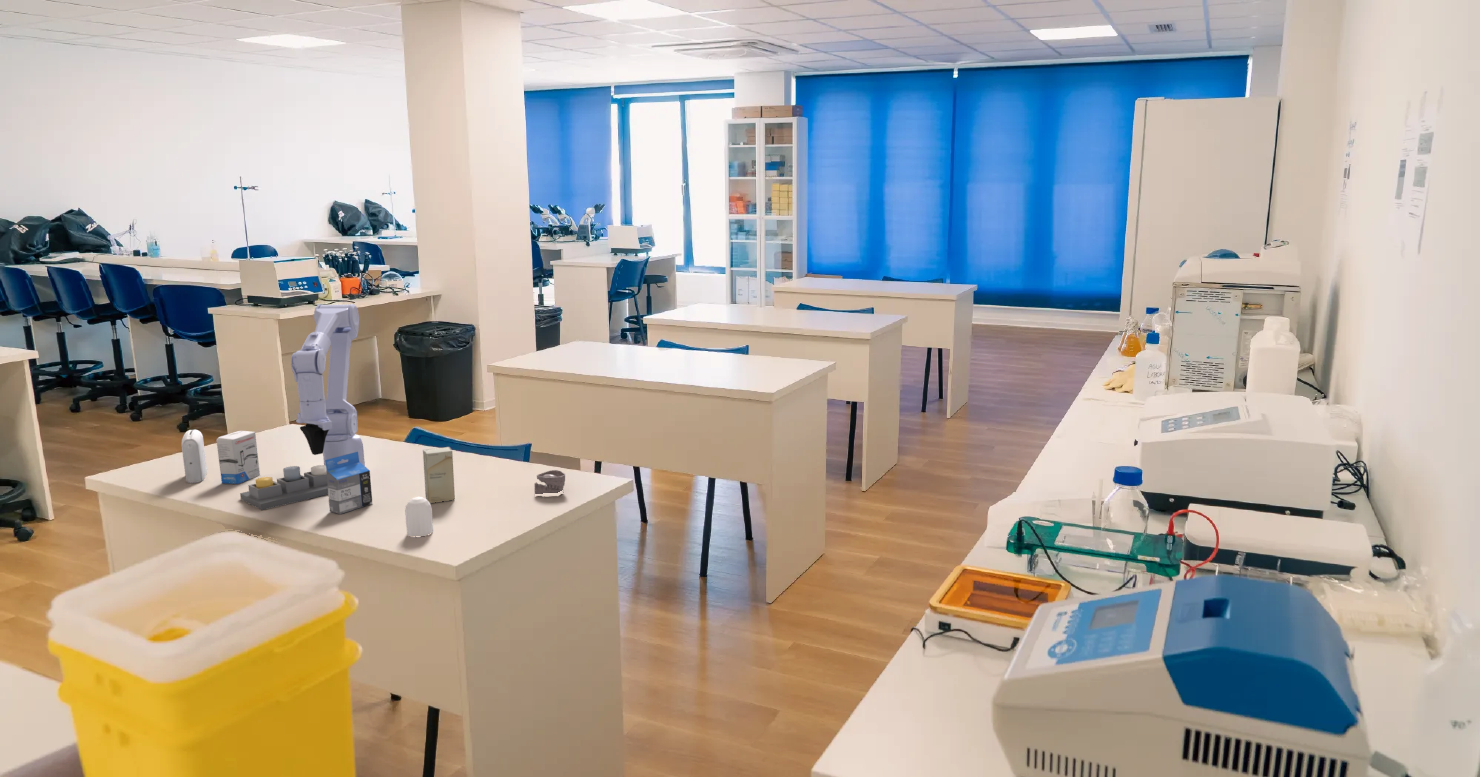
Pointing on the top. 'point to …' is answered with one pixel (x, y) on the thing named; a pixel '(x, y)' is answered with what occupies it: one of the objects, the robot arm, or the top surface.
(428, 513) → the white rounded cylinder
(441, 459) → the skincare box
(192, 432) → the photo printer
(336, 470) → the label tape cartridge
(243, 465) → the ink box
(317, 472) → the ivory button
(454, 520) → the top surface
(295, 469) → the slate button
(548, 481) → the dental mold
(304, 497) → the panel
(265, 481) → the amber button
